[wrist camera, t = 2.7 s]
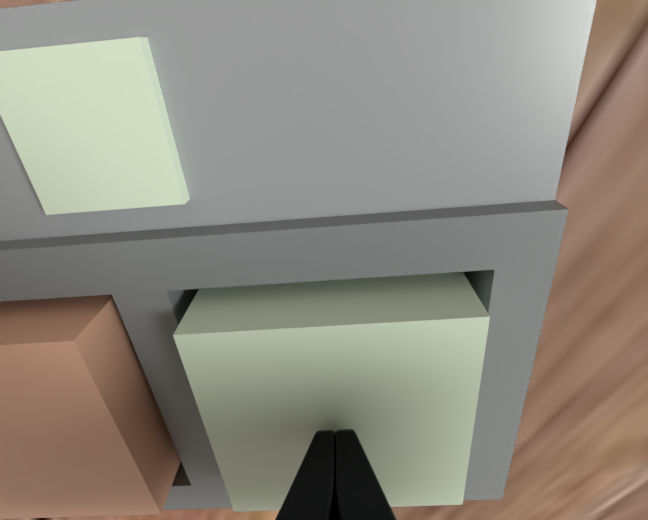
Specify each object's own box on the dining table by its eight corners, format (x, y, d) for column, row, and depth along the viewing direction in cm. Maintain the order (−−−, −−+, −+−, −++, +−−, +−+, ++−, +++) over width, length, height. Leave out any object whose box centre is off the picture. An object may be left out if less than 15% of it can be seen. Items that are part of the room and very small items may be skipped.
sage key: (442, 436, 12) (462, 504, 10) (248, 444, 12) (234, 511, 10) (458, 264, 9) (490, 316, 7) (203, 280, 9) (172, 335, 7)
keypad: (465, 404, 14) (502, 498, 11) (-151, 432, 16) (-266, 523, 13) (520, -22, 8) (632, -69, 5) (-499, 85, 10) (-887, 100, 7)
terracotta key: (185, 447, 12) (161, 513, 10) (5, 454, 12) (-49, 520, 11) (122, 286, 9) (73, 341, 7) (-109, 301, 10) (-208, 357, 8)
